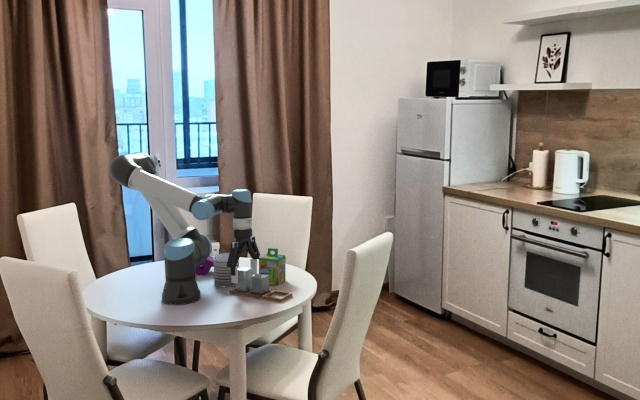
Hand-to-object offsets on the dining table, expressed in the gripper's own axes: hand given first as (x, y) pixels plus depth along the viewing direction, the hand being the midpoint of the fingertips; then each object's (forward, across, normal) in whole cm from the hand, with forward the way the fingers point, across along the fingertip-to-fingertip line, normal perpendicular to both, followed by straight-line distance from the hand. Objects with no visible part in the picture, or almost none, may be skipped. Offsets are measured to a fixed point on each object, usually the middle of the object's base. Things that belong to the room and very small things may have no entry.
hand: (244, 278), depth 251 cm
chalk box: (+6, +17, -2) cm, 19 cm away
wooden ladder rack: (+6, 0, -8) cm, 10 cm away
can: (+6, +7, +15) cm, 18 cm away
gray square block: (+6, 0, -8) cm, 10 cm away
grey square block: (+6, 0, 0) cm, 6 cm away
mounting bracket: (+6, +18, +31) cm, 36 cm away
